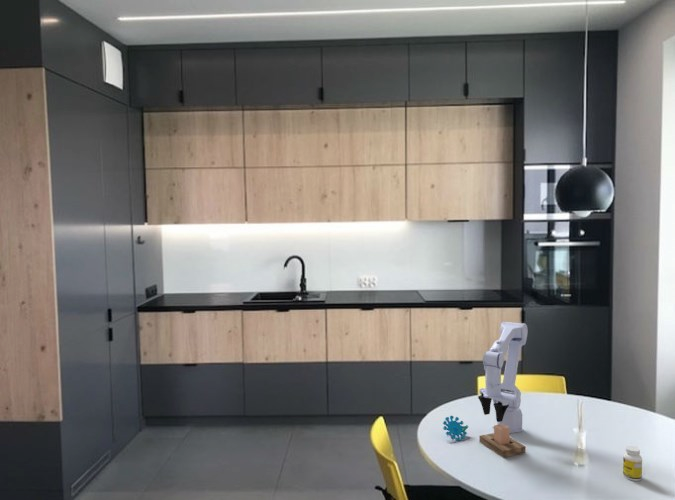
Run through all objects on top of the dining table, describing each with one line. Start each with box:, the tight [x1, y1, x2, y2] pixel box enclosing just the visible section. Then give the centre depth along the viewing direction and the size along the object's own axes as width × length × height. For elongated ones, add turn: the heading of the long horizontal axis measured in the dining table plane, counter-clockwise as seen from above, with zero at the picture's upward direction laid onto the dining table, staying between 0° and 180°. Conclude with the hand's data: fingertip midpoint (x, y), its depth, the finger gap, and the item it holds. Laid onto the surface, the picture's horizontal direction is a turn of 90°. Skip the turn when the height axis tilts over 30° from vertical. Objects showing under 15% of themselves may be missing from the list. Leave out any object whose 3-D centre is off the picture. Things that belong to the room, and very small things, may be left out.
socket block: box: [479, 432, 527, 459], centre depth 190 cm, size 10×14×2 cm
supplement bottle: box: [622, 445, 643, 482], centre depth 166 cm, size 5×5×10 cm
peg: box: [493, 424, 511, 445], centre depth 190 cm, size 4×4×8 cm
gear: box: [442, 415, 469, 442], centre depth 201 cm, size 11×6×10 cm
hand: (493, 417), depth 193 cm, fingers open, 7 cm apart
